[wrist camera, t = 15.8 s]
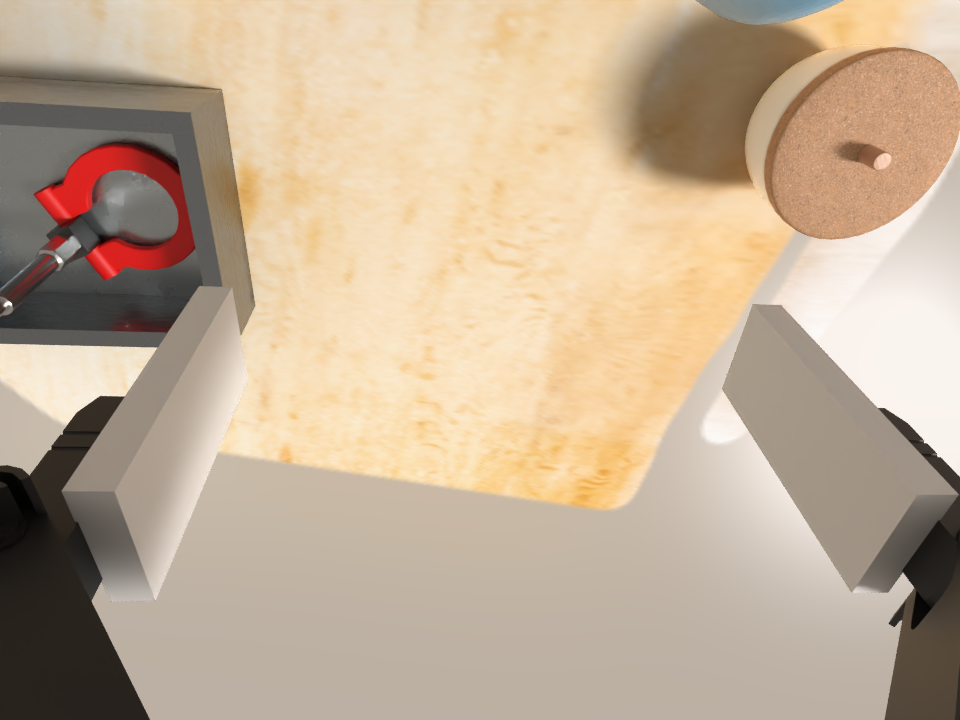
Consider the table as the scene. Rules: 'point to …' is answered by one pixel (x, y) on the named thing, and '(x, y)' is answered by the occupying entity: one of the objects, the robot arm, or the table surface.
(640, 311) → the table surface
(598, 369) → the table surface
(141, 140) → the grey open box
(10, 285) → the tow hook
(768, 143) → the lidded jar
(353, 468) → the table surface
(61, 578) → the robot arm
